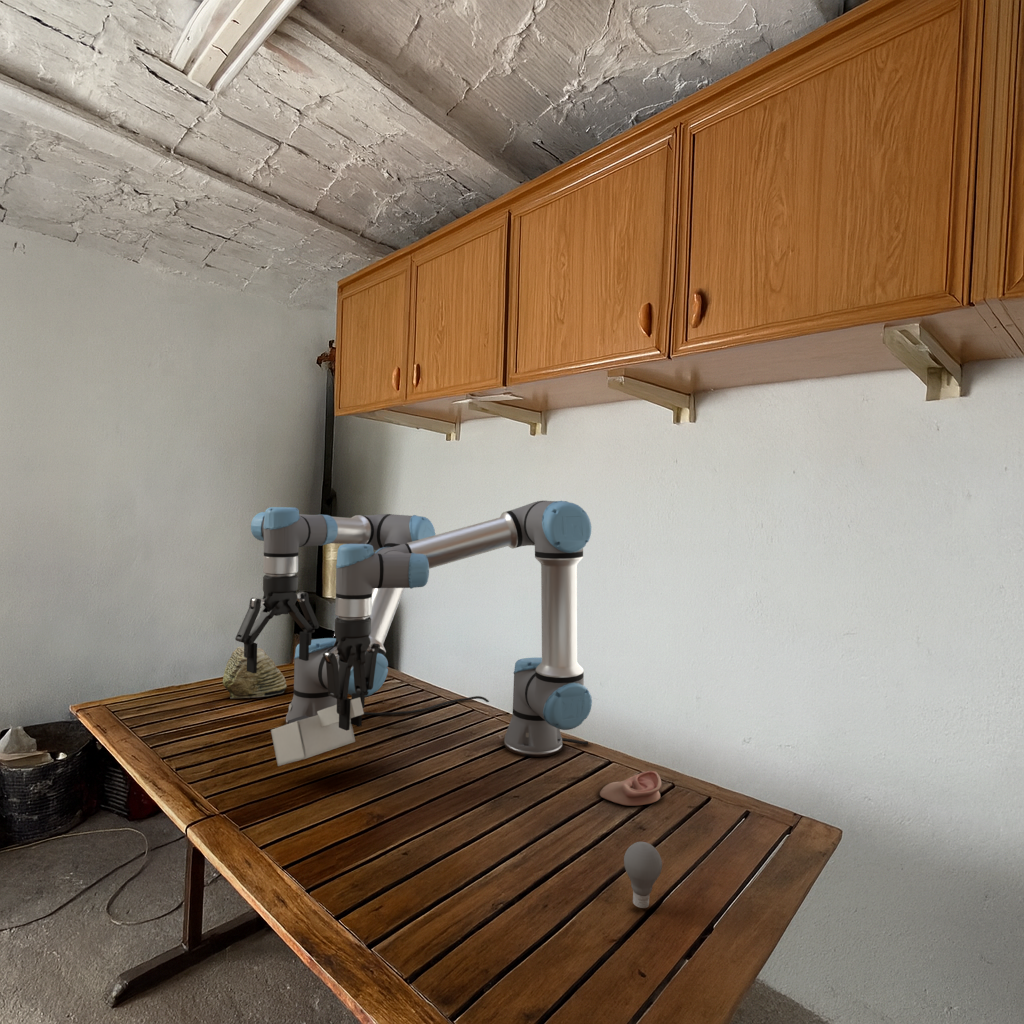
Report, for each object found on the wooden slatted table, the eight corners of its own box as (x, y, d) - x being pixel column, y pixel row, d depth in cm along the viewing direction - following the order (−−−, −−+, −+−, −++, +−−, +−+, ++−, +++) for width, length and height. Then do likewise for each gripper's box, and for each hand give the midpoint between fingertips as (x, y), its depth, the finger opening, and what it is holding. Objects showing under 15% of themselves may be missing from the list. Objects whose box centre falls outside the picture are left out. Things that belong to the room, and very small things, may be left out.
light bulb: (617, 894, 104) (620, 834, 104) (653, 893, 105) (656, 834, 105) (627, 918, 98) (630, 854, 98) (664, 917, 99) (668, 854, 99)
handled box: (328, 749, 151) (320, 712, 153) (389, 732, 137) (380, 691, 139) (277, 766, 140) (269, 726, 142) (338, 749, 127) (329, 705, 129)
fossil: (218, 695, 195) (220, 647, 195) (278, 685, 208) (279, 640, 207) (228, 703, 189) (230, 653, 188) (289, 692, 201) (290, 645, 201)
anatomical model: (599, 783, 136) (602, 762, 148) (598, 802, 136) (601, 779, 148) (662, 792, 134) (661, 769, 145) (661, 810, 134) (660, 787, 145)
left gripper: (315, 568, 158) (313, 652, 159) (219, 577, 138) (218, 673, 139) (335, 571, 154) (333, 657, 154) (238, 581, 133) (237, 681, 134)
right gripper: (371, 610, 143) (368, 713, 143) (311, 618, 131) (308, 731, 131) (393, 614, 138) (389, 721, 139) (333, 624, 126) (329, 741, 127)
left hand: (278, 665), depth 146 cm, fingers open, 13 cm apart
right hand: (350, 726), depth 135 cm, fingers closed on handled box, 2 cm apart
